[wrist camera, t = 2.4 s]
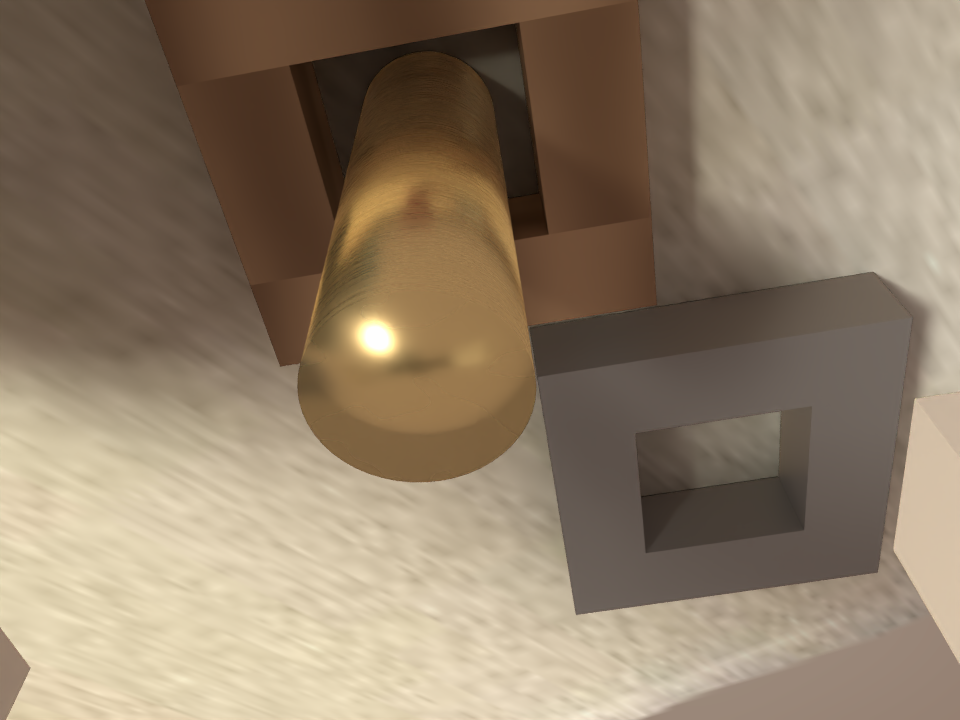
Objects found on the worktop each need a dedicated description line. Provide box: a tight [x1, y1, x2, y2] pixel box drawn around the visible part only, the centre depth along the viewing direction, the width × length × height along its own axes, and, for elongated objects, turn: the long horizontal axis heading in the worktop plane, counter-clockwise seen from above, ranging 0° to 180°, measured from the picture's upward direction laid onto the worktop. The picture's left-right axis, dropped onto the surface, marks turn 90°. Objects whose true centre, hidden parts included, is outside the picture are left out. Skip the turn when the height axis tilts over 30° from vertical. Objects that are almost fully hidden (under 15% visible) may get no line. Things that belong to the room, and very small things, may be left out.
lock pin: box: [297, 51, 536, 482], centre depth 20 cm, size 4×4×14 cm
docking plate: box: [530, 272, 913, 615], centre depth 32 cm, size 12×12×3 cm
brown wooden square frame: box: [145, 0, 657, 366], centre depth 25 cm, size 12×12×3 cm
